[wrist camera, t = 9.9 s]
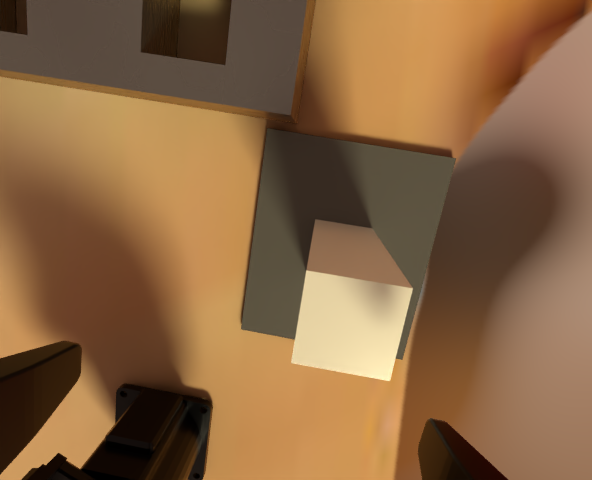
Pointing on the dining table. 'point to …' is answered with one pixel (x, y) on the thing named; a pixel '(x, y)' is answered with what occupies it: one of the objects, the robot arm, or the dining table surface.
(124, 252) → the dining table surface
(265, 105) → the grey block with holes
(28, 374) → the robot arm
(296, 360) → the peg
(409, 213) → the mat
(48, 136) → the dining table surface
